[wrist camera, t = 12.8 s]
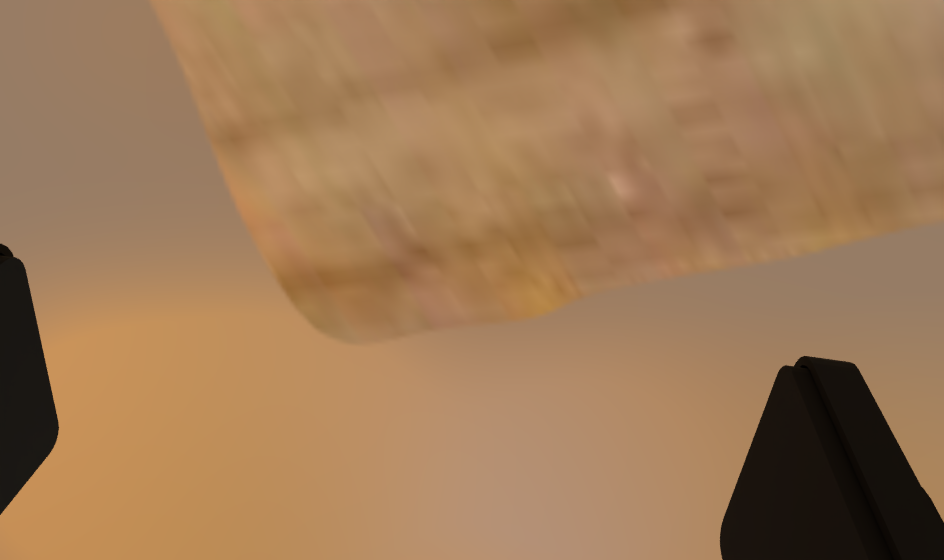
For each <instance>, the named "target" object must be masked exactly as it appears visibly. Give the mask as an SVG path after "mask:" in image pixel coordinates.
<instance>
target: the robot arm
mask: <svg viewBox="0 0 944 560" xmlns="http://www.w3.org/2000/svg"><path fill="white" fill-rule="evenodd" d="M58 430H59V426H58V419H57V414H56V409H55V404H54V400H53V395H52V391H51V386H50V381H49V376H48V372H47V367H46V363H45V358H44V353H43V349H42V344H41V340H40V335H39V330H38V325H37V321H36V316H35V311H34V307H33V303H32V297H31V293H30V288H29V284H28V279H27V275H26V270H25V267H24V265H23V263H22V262H21V260H19V259H17V258H15V257H13V254H12V252H11V251H10V250H9V248H8V247H7V246H5V245H2V244H0V515H1V513H2V512H3V511H4V509H5V508H6V507H7V506H8V505H9V503H10V502H11V501H12V500H13V498H14V497H15V496H16V495H17V493H18V492H19V491H20V490H21V488H22V487H23V486H24V485H25V484H26V482H27V481H28V480H29V479H30V477H31V476H32V475H33V474H34V472H35V471H36V470H37V469H38V467H39V466H40V465H41V464H42V462H43V461H44V460H45V459H46V457H47V456H48V455H49V454H50V452H51V451H52V449H53V447H54V445H55V443H56V440H57V436H58ZM720 548H721V555H722V559H723V560H944V522H943V520H942V519H941V517H940V515H939V513H938V511H937V509H936V507H935V506H934V504H933V502H932V500H931V498H930V497H929V496H928V494H927V493H926V492H925V490H924V489H923V488H922V487H921V485H920V483H919V482H918V480H917V478H916V476H915V474H914V472H913V470H912V468H911V467H910V465H909V463H908V461H907V459H906V457H905V455H904V453H903V452H902V450H901V448H900V446H899V444H898V443H897V440H896V439H895V437H894V435H893V433H892V431H891V430H890V427H889V425H888V424H887V422H886V420H885V418H884V416H883V414H882V412H881V410H880V409H879V407H878V405H877V403H876V402H875V399H874V397H873V396H872V394H871V392H870V390H869V388H868V386H867V384H866V382H865V380H864V379H863V377H862V375H861V373H860V371H859V369H858V368H857V367H856V365H855V364H853V363H850V362H845V361H837V360H830V359H823V358H816V357H809V356H803V357H801V358H800V359H799V360H798V361H797V362H796V364H795V365H794V366H783V367H782V368H781V369H780V370H779V372H778V374H777V377H776V379H775V382H774V385H773V387H772V390H771V393H770V395H769V398H768V401H767V404H766V406H765V409H764V411H763V414H762V417H761V420H760V422H759V425H758V428H757V430H756V433H755V436H754V438H753V441H752V444H751V447H750V449H749V452H748V454H747V457H746V460H745V463H744V465H743V468H742V471H741V473H740V476H739V478H738V481H737V484H736V486H735V489H734V492H733V494H732V497H731V500H730V503H729V506H728V508H727V510H726V513H725V516H724V519H723V522H722V526H721V533H720Z"/></svg>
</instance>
